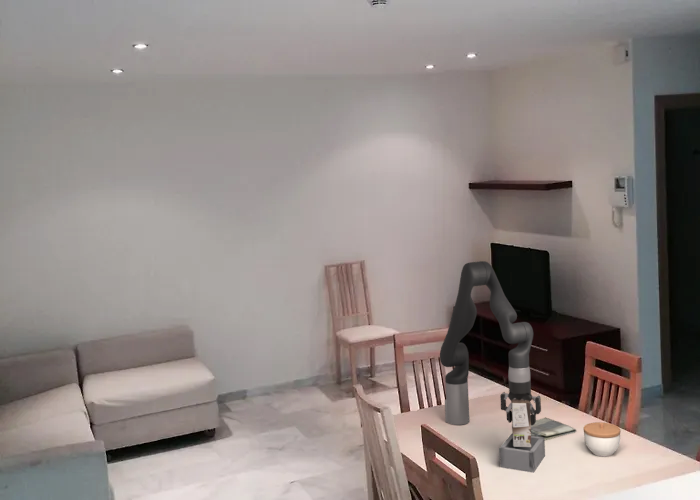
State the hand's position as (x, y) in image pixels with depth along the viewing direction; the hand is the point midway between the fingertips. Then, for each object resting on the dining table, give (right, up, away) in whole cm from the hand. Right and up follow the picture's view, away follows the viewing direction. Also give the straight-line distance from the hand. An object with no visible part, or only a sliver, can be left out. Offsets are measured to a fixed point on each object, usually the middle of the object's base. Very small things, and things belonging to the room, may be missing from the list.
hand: (521, 423), depth 252 cm
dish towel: (+16, -11, +30) cm, 35 cm away
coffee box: (0, -7, +1) cm, 7 cm away
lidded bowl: (+31, -12, +5) cm, 33 cm away
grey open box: (+1, -14, +1) cm, 14 cm away
